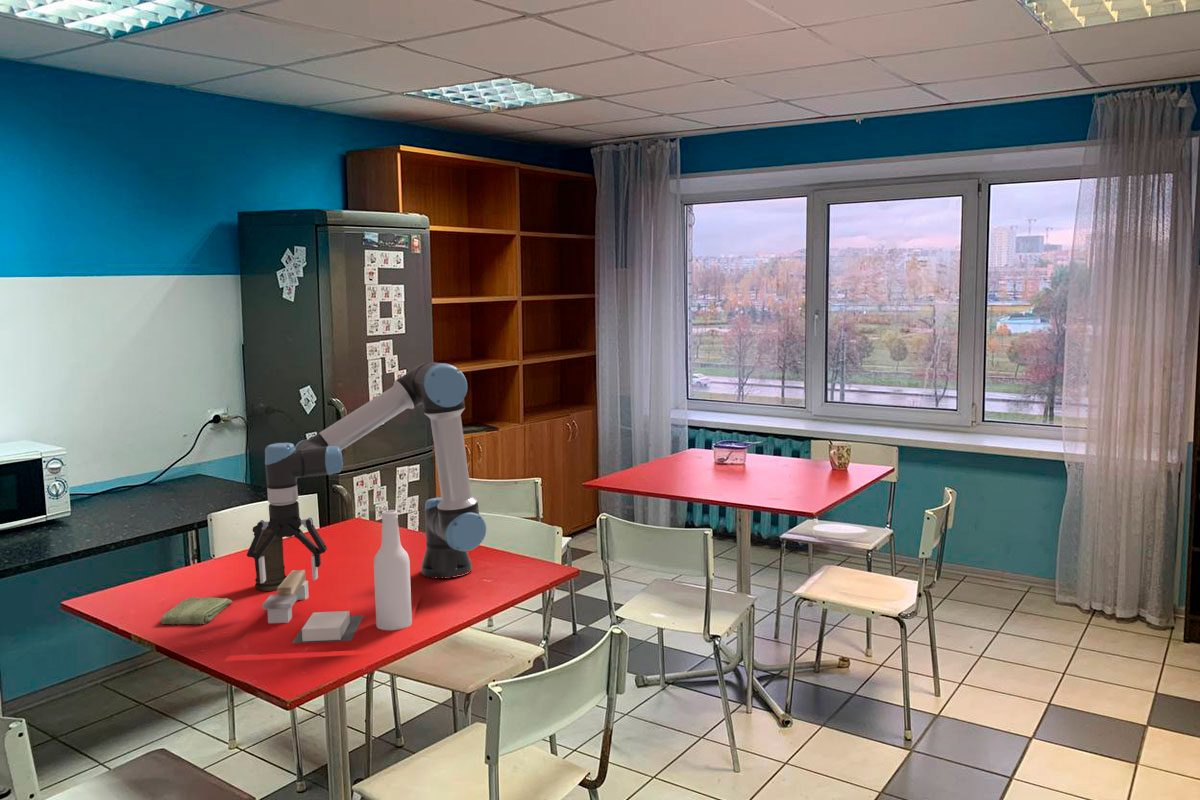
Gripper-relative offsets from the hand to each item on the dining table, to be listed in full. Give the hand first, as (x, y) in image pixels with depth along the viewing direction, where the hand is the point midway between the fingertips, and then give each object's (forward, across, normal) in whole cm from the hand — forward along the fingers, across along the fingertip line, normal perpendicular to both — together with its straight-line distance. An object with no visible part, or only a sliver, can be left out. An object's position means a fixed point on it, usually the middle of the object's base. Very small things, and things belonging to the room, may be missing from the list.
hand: (289, 580), depth 247 cm
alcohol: (+9, -29, +16) cm, 34 cm away
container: (+9, +12, -24) cm, 28 cm away
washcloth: (+9, +25, -1) cm, 27 cm away
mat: (+9, -13, +17) cm, 24 cm away
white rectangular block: (+6, -13, +14) cm, 20 cm away
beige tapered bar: (+4, 0, 0) cm, 4 cm away
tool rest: (+9, +1, 0) cm, 9 cm away
